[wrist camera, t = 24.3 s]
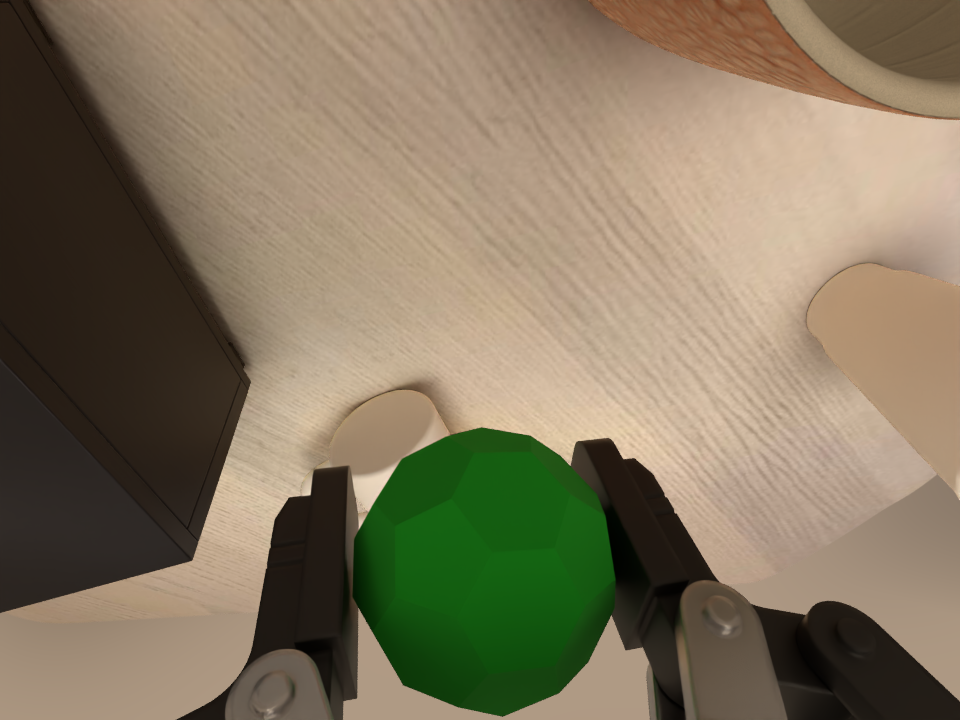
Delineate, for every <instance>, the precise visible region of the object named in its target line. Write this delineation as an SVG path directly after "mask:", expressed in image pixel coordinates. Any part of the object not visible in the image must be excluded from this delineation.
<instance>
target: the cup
mask: <svg viewBox="0 0 960 720" xmlns="http://www.w3.org/2000/svg"><path fill="white" fill-rule="evenodd" d="M806 323H807V328H808V330H809V331H810V333H811V334H812V335H813V336H814V337H815V338H816V339H817V340H818V341H819V342H820V343H821V344H822V345H823V348H824V351H825V353H826V354H827V356H828V357H829V358H830V359H831V360H832V361H833V362H834V363H835V364H836V366H837V367H838V368H839V369H840V370H841V371H842V372H843V373H844V374H845V375H846V376H847V377H848V378H849V379H850V381H851V382H852V383H853V384H854V385H855V386H856V387H857V388H858V389H859V390H860V391H861V392H862V393H863V394H864V396H865V397H866V398H867V399H868V400H869V401H870V402H871V403H872V404H873V405H874V406H875V407H876V408H877V409H878V411H879V412H880V413H881V414H882V415H883V416H884V417H885V418H886V419H887V420H888V421H889V422H890V423H891V424H892V425H893V427H894V428H895V429H896V430H897V431H898V432H899V433H900V434H901V435H902V436H903V437H904V438H905V439H906V440H907V442H908V443H909V444H910V445H911V446H912V447H913V448H914V449H915V450H916V451H917V452H918V453H919V454H920V455H921V457H922V458H923V459H924V460H925V461H926V462H927V463H928V464H929V465H930V466H931V467H932V468H933V469H934V470H935V472H936V473H937V474H938V475H939V476H940V477H941V478H942V479H943V480H944V481H945V482H946V483H947V484H948V485H949V486H950V488H951V489H952V490H953V491H954V492H955V493H956V495H957V497H958V499H959V500H960V286H957V285H954V284H951V283H948V282H944V281H941V280H938V279H935V278H931V277H928V276H925V275H922V274H919V273H915V272H911V271H907V270H900V271H895V270H892V269H889V268H887V267H884V266H881V265H878V264H873V263H864V264H859V265H855V266H852V267H849V268H848V269H846V270H844V271H842V272H840V273H838V274H837V275H836V276H834V277H833V278H832V279H830V280H829V281H828V282H827V283H826V284H825V285H824V286H823V287H822V288H821V289H820V290H819V291H818V293H817V294H816V296H815V297H814V299H813V300H812V302H811V304H810V306H809V309H808V311H807V318H806Z"/></svg>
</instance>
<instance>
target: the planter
mask: <svg viewBox="0 0 960 720" xmlns="http://www.w3.org/2000/svg"><path fill="white" fill-rule="evenodd" d="M588 1H589V2H590V3H591V4H592V5H593V6H594V7H595V8H596V9H597V10H599V11H600V12H601V13H602V14H604V15H605V16H606V17H608V18H609V19H610V20H612V21H613V22H615V23H616V24H618V25H619V26H621V27H622V28H624V29H626V30H627V31H629V32H630V33H632V34H633V35H635V36H637V37H639V38H640V39H642V40H644V41H646V42H648V43H651V44H653V45H655V46H657V47H660V48H662V49H664V50H667V51H669V52H671V53H674V54H676V55H679V56H681V57H684V58H687V59H690V60H692V61H695V62H698V63H701V64H704V65H707V66H710V67H713V68H716V69H719V70H722V71H726V72H729V73H732V74H736V75H739V76H742V77H746V78H749V79H753V80H757V81H760V82H764V83H767V84H771V85H775V86H778V87H782V88H785V89H789V90H792V91H796V92H800V93H804V94H808V95H812V96H816V97H821V98H825V99H829V100H833V101H837V102H841V103H845V104H850V105H855V106H860V107H865V108H870V109H875V110H880V111H886V112H891V113H896V114H902V115H909V116H915V117H924V118H932V119H946V120H960V0H588Z"/></svg>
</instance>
